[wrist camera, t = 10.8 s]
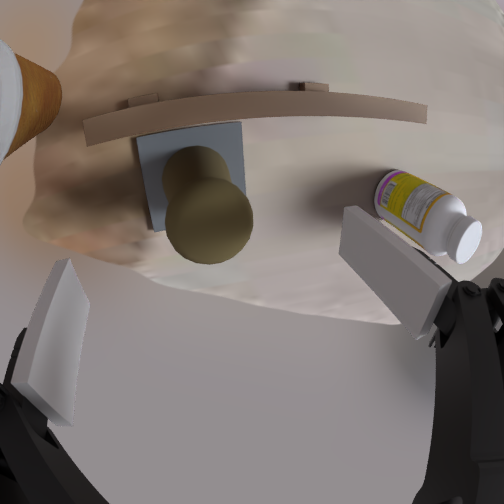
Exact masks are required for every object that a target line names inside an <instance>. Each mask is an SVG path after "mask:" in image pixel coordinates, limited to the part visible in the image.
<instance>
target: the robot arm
mask: <svg viewBox="0 0 504 504" xmlns="http://www.w3.org/2000/svg"><path fill="white" fill-rule="evenodd" d="M339 255H340V256H341V257H342V258H343V259H344V260H345V261H346V262H347V263H348V264H349V265H350V266H351V268H352V269H353V270H354V271H355V272H356V273H357V274H358V275H359V276H360V277H361V278H362V279H363V280H364V281H365V283H366V284H367V285H368V286H369V287H370V288H371V289H372V290H373V291H374V292H375V294H376V295H377V296H378V297H379V298H380V299H381V300H382V301H383V302H384V304H385V305H386V306H387V307H388V308H389V309H390V310H391V312H392V313H393V314H394V315H395V316H396V317H397V318H398V320H399V321H400V322H401V323H402V324H403V325H404V326H405V328H406V329H407V330H408V331H409V332H410V334H411V335H412V336H413V337H414V338H415V339H416V340H417V339H419V338H421V337H422V336H424V335H426V334H428V333H429V331H430V329H431V327H432V325H433V323H434V324H435V325H436V326H437V330H436V331H435V333H434V335H433V337H432V339H431V341H430V343H429V347H431V346H432V344H433V342H434V341H435V346H434V347H435V348H436V389H435V408H434V420H433V429H432V439H431V446H430V453H429V459H428V464H427V470H426V475H425V480H424V483H423V486H422V487H421V489H420V490H419V491H418V493H417V494H416V496H415V498H414V500H413V503H412V504H504V279H501V278H494V279H492V280H491V283H490V285H489V287H488V288H483V289H481V288H480V287H479V286H478V285H476V284H475V283H473V282H470V281H464V280H463V281H460V282H458V281H457V280H455V279H454V278H453V277H452V276H451V275H450V274H449V273H447V272H446V271H445V270H444V269H443V268H442V267H440V266H439V265H438V264H436V262H434V261H433V260H432V259H430V257H428V256H427V255H426V254H425V253H424V252H422V251H420V250H418V249H416V248H414V247H412V246H410V245H409V244H408V243H407V242H405V241H404V240H403V239H401V238H400V237H399V236H398V235H396V234H395V233H394V232H392V231H391V230H390V229H388V228H387V227H386V226H384V225H383V224H382V223H380V222H379V221H378V220H376V219H375V218H374V217H372V216H371V215H369V214H368V213H367V212H365V211H364V210H363V209H361V208H360V207H358V206H357V205H355V206H348V207H344V213H343V223H342V232H341V240H340V248H339ZM89 309H90V303H89V301H88V299H87V297H86V295H85V292H84V290H83V288H82V286H81V284H80V281H79V279H78V277H77V275H76V272H75V270H74V268H73V265H72V263H71V260H70V258H68V259H63V260H59V261H56V262H55V265H54V267H53V269H52V271H51V273H50V275H49V277H48V279H47V281H46V284H45V286H44V288H43V290H42V293H41V295H40V297H39V300H38V302H37V304H36V307H35V309H34V312H33V315H32V317H31V320H30V322H29V325H28V328H24V329H23V330H22V332H21V333H20V334H19V336H18V337H17V340H16V342H15V345H14V350H13V351H12V354H11V359H10V361H9V364H8V368H7V371H6V374H5V379H4V382H3V385H2V384H1V383H0V504H109V503H108V502H107V501H106V500H105V499H104V498H103V496H102V495H101V494H100V493H99V492H98V491H97V490H96V489H95V488H94V486H93V485H92V484H91V483H90V482H89V481H88V479H87V478H86V477H85V476H84V475H83V473H82V472H81V471H80V470H79V468H78V467H77V466H76V464H75V463H74V462H73V461H72V459H71V458H70V457H69V455H68V454H67V452H66V451H65V450H64V448H63V447H62V445H61V444H60V443H59V441H58V440H57V438H56V437H55V435H54V434H53V432H52V431H51V430H50V429H49V427H47V420H48V419H49V420H50V421H51V422H53V423H54V424H55V425H56V426H73V420H74V405H75V395H76V385H77V377H78V369H79V362H80V356H81V350H82V344H83V338H84V333H85V327H86V322H87V318H88V313H89ZM500 319H501V321H502V323H503V325H502V326H501V328H500V329H499V331H498V332H497V330H496V329H495V327H496V325H497V323H498V322H499V320H500Z"/></svg>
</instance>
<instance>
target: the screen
mask: <svg viewBox="0 0 504 504" xmlns="http://www.w3.org/2000/svg"><path fill="white" fill-rule="evenodd" d="M299 85H300V91H254V92H236V93H223V94H213V95H203V96H195V97H188V98H180V99H174V100H168V101H162V102H159V101H158V93H154V94H149V95H143V96H139V97H134V98H129V99H128V104H129V108H127V109H123V110H118V111H114V112H110V113H107V114H103V115H99V116H95V117H92V118H88V119H85V120H83V126H84V132H85V138H86V144H87V147H88V146H92V145H95V144H99V143H103V142H107V141H111V140H115V139H119V138H123V137H127V136H132V135H137V134H141V133H146V132H151V131H156V130H162V129H168V128H173V127H180V126H186V125H193V124H200V123H208V122H216V121H225V120H236V119H247V118H262V117H282V116H344V117H364V118H378V119H389V120H399V121H408V122H416V123H423V124H426V121H427V105H423V104H418V103H413V102H408V101H402V100H396V99H390V98H383V97H376V96H367V95H358V94H348V93H335V92H329V84H321V83H299Z"/></svg>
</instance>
